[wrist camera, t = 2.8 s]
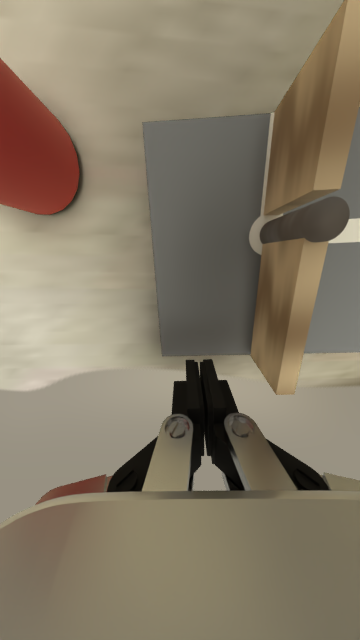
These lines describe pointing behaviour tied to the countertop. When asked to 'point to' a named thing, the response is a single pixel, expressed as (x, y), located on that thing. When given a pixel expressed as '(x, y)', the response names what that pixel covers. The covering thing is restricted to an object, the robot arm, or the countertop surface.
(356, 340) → the card
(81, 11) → the countertop surface
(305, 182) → the bar
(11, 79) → the beer can
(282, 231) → the fence gate
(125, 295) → the countertop surface
